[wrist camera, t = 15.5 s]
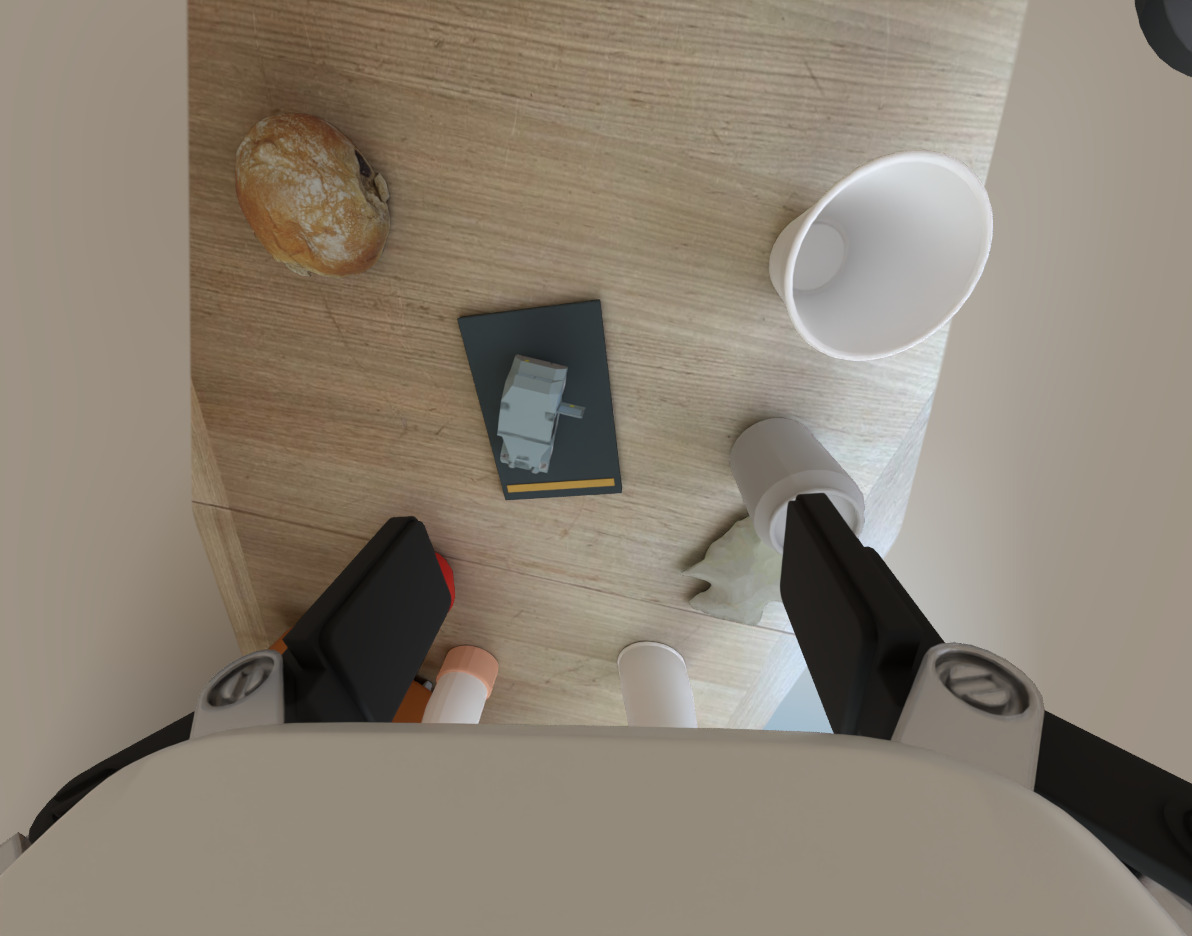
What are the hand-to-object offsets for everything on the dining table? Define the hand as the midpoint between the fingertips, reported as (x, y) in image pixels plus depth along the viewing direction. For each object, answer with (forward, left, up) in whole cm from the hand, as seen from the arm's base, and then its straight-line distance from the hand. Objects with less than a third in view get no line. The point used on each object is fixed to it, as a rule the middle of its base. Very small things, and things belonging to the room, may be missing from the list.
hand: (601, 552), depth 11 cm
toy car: (+8, +6, -28) cm, 29 cm away
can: (-12, +12, -28) cm, 33 cm away
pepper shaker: (+25, +41, -28) cm, 56 cm away
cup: (-14, -4, -28) cm, 32 cm away
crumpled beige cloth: (-10, +25, -28) cm, 39 cm away
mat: (+8, +6, -28) cm, 30 cm away
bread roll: (+22, -12, -28) cm, 38 cm away
